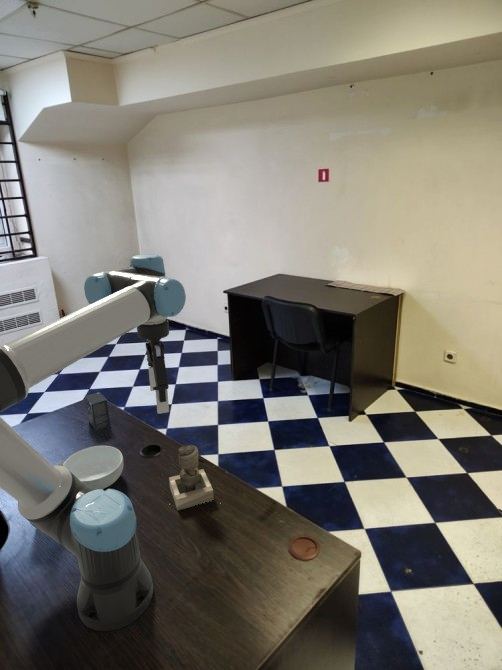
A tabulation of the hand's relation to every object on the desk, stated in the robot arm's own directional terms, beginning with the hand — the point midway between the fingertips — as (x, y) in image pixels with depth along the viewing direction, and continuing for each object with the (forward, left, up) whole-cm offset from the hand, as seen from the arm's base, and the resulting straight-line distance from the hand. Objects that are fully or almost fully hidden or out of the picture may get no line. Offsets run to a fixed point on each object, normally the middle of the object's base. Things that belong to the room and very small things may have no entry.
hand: (159, 400), depth 113 cm
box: (+50, +16, -30) cm, 60 cm away
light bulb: (-2, -6, -29) cm, 30 cm away
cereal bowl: (+15, +19, -30) cm, 38 cm away
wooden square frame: (-1, -6, -30) cm, 30 cm away
